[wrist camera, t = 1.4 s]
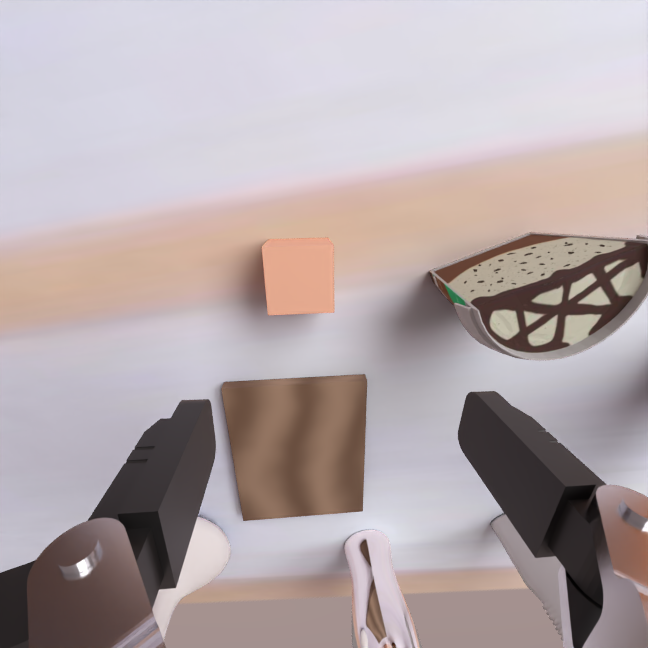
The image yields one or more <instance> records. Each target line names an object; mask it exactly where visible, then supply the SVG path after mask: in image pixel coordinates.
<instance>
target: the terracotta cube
mask: <svg viewBox="0 0 648 648" xmlns="http://www.w3.org/2000/svg"><path fill="white" fill-rule="evenodd" d="M262 257H263V268H264V278H265V289H266V300H267V311H268V315H288V314H311V313H334V245H333V243H332V242H331V241H330V239H329V238H297V239H268V241H267V242H266V243H265V244H264V245H263V246H262Z"/></svg>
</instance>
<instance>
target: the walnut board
mask: <svg viewBox="0 0 648 648" xmlns="http://www.w3.org/2000/svg"><path fill="white" fill-rule="evenodd" d="M221 390H222V396H223V402H224V408H225V414H226V420H227V426H228V432H229V438H230V444H231V450H232V456H233V462H234V468H235V474H236V479H237V485H238V491H239V497H240V503H241V509H242V515H243V521H248V520H260V519H273V518H285V517H298V516H310V515H323V514H335V513H348V512H360V511H363V485H364V456H365V427H366V398H367V379H366V376H365V374H363V375H344V376H326V377H308V378H290V379H271V380H253V381H235V382H224V384H223V386H222V388H221Z"/></svg>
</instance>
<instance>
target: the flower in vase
mask: <svg viewBox="0 0 648 648" xmlns="http://www.w3.org/2000/svg"><path fill="white" fill-rule="evenodd" d="M230 555H231V547H230V544H229V541H228V539H227V537H226V535H225V533H224V532H223V531H222V530H221V529H220V528H219V527H218V526H217V525H215V524H214V523H212V522H211V521H209V520H206V519H204V518H201V517H197V520H196V523H195V527H194V530H193V533H192V537H191V540H190V543H189V547H188V550H187V553H186V556H185V560H184V563H183V566H182V570H181V573H180V576H179V580H178V583H177V586H176V588H172V589H160V590H159V591H158V594H157V597H156V600H155V603H154V606H153V609H152V611H153V614H154V617H155V620H156V622H157V624H158V626H159V629H160V632H161V635H162V638H163V641H164V638H165V634H166V631H167V627H168V624H169V621H170V618H171V616H172V613H173V611H174V609H175V607H176V605H177V604H178V602H179V601H180V600H181V599H182V598H184V597H185V596H187V595H188V594H190V593H192V592H194V591H196V590H198V589H199V588H201V587H203V586H205V585H206V584H208V583H209V582H210V581H212V580H213V579H214V578H215V577H217V576H218V575H219V574H220V573H221V572H222V571H223V569H224V568H225V566H226V564H227V563H228V561H229V558H230Z"/></svg>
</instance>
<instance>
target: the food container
mask: <svg viewBox="0 0 648 648" xmlns="http://www.w3.org/2000/svg"><path fill="white" fill-rule="evenodd" d="M429 272H430V275H431V278H432V281H433V283H434V284H435V285H436V287H437V288H438V289H439V291H440V292H441V293H442V294H443V295H444V296H445V297H446V298H447V299H448V300H449V301H450V302H451V303H452V304H453V305H454V306H455V309H456V312H457V315H458V317H459V319H460V321H461V323H462V325H463V326H464V328H465V329H466V330H467V331H468V332H469V334H470V335H471V336H472V337H473V338H475V339H476V340H477V341H478V342H480V343H481V344H483V345H485V346H487V347H488V348H490V349H493V350H495V351H498V352H500V353H503V354H506V355H509V356H512V357H515V358H520V359H527V360H555V359H562V358H565V357H569V356H572V355H576V354H578V353H581V352H583V351H585V350H588V349H590V348H592V347H593V346H595V345H597V344H599V343H600V342H602V341H604V340H605V339H606V338H608V337H609V336H611V335H612V334H613V333H615V332H616V331H617V330H618V329H619V328H620V327H621V326H623V325H624V324H625V323H626V322H627V321H628V320H629V319H630V318H631V317H632V315H633V314H634V313H635V312H636V311H637V310H638V308H639V307H640V306H641V304H642V303H643V302H644V300H645V299H646V297H647V296H648V236H643V235H637V237H636V239H628V238H613V237H597V236H582V235H566V234H551V233H535V232H530V233H527V234H525V235H522V236H519V237H517V238H514V239H512V240H509V241H506V242H504V243H501V244H498V245H496V246H493V247H490V248H488V249H485V250H483V251H480V252H477V253H475V254H472V255H469V256H467V257H464V258H462V259H459V260H456V261H454V262H451V263H448V264H446V265H443V266H441V267H438V268H435V269H433V270H430V271H429Z"/></svg>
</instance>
